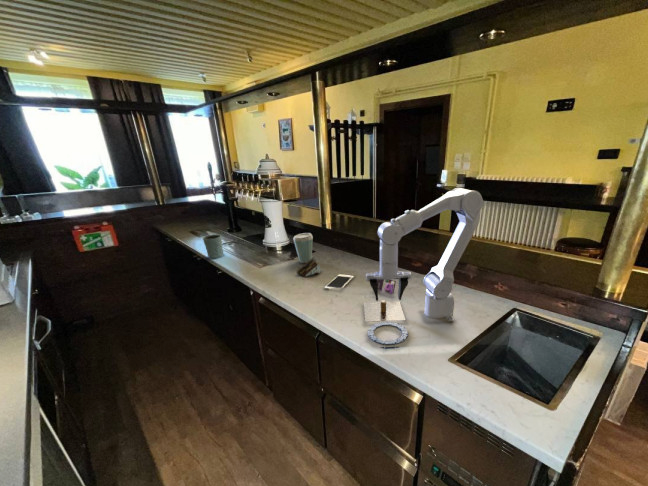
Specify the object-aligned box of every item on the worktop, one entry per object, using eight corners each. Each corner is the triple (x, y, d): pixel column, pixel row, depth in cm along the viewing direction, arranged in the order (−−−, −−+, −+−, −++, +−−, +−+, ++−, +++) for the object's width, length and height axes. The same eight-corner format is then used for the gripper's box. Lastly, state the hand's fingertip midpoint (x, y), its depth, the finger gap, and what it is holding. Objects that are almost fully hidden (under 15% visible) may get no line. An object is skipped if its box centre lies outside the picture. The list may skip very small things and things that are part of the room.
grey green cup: (210, 253, 187) (205, 235, 182) (227, 252, 188) (223, 233, 182) (205, 259, 178) (200, 239, 173) (222, 258, 178) (218, 238, 173)
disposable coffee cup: (296, 265, 162) (293, 238, 155) (295, 259, 171) (292, 233, 165) (316, 263, 164) (313, 236, 157) (313, 256, 173) (311, 231, 167)
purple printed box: (376, 276, 126) (394, 281, 121) (382, 276, 130) (400, 281, 125) (373, 291, 127) (391, 297, 122) (379, 291, 132) (397, 296, 126)
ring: (404, 325, 103) (404, 321, 102) (410, 347, 92) (410, 343, 91) (367, 327, 103) (367, 322, 103) (369, 349, 92) (369, 344, 91)
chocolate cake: (302, 280, 144) (318, 260, 144) (294, 272, 148) (309, 253, 148) (313, 286, 152) (328, 268, 152) (305, 279, 156) (320, 261, 156)
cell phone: (354, 277, 143) (354, 275, 143) (340, 291, 130) (340, 289, 130) (339, 275, 146) (339, 274, 146) (324, 288, 133) (324, 287, 133)
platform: (399, 304, 117) (399, 291, 115) (405, 323, 104) (406, 309, 102) (363, 306, 117) (363, 293, 115) (365, 325, 105) (364, 311, 102)
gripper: (409, 255, 99) (407, 292, 105) (365, 257, 99) (366, 294, 105) (413, 263, 93) (411, 302, 98) (366, 265, 93) (367, 304, 99)
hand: (388, 299), depth 101 cm, fingers open, 7 cm apart
